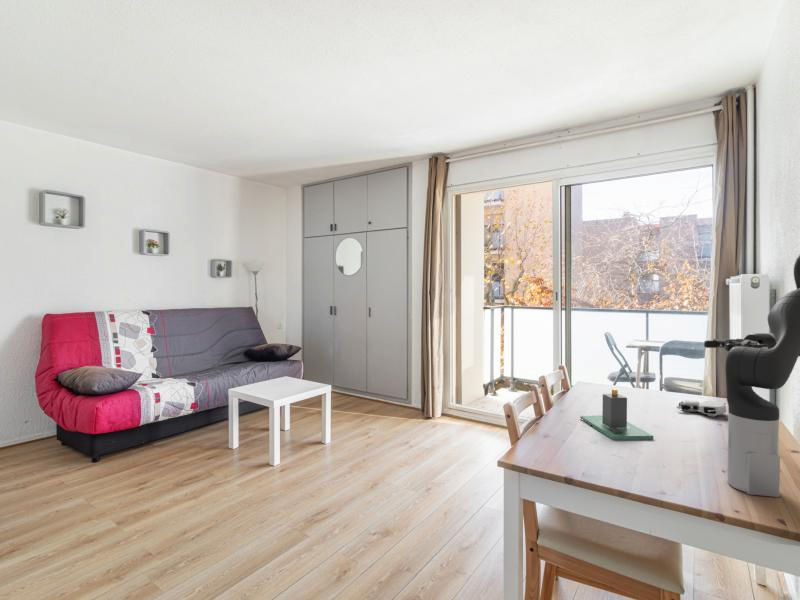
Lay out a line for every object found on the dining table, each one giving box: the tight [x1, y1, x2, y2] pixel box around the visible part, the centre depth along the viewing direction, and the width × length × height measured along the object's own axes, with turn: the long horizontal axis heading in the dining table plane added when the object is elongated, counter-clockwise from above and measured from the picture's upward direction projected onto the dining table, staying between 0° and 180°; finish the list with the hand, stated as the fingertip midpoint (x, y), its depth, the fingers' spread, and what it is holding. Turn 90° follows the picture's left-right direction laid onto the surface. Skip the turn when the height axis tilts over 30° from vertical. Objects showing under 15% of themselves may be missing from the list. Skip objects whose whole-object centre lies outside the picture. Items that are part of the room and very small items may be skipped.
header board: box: [579, 415, 654, 441], centre depth 144 cm, size 22×13×4 cm, turn 2°
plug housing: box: [602, 388, 628, 428], centre depth 144 cm, size 5×5×12 cm
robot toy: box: [676, 399, 728, 418], centre depth 163 cm, size 12×4×15 cm
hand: (715, 345), depth 129 cm, fingers open, 8 cm apart
